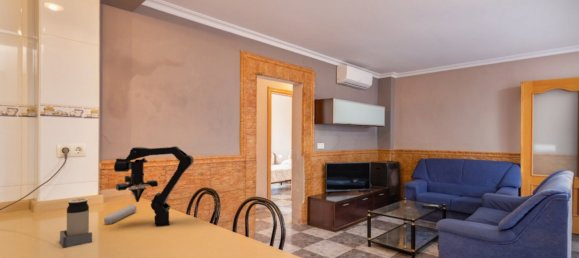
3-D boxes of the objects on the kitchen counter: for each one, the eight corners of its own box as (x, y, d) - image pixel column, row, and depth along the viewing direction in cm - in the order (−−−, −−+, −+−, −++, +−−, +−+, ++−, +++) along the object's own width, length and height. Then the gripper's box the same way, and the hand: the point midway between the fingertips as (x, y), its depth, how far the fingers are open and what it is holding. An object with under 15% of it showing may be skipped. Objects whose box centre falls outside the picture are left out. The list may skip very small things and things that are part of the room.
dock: (87, 235, 142) (87, 226, 142) (92, 242, 132) (92, 232, 132) (59, 240, 135) (59, 231, 135) (62, 248, 125) (62, 238, 126)
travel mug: (92, 239, 136) (93, 198, 137) (75, 245, 129) (75, 202, 129) (80, 237, 139) (80, 197, 139) (62, 243, 131) (62, 201, 132)
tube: (113, 217, 158) (137, 205, 183) (103, 214, 158) (129, 203, 183) (109, 227, 158) (135, 214, 183) (100, 224, 158) (126, 211, 183)
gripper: (151, 168, 169) (151, 197, 169) (113, 171, 157) (113, 202, 157) (158, 170, 161) (158, 200, 161) (118, 173, 148) (118, 205, 148)
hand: (137, 201), depth 157 cm, fingers closed
